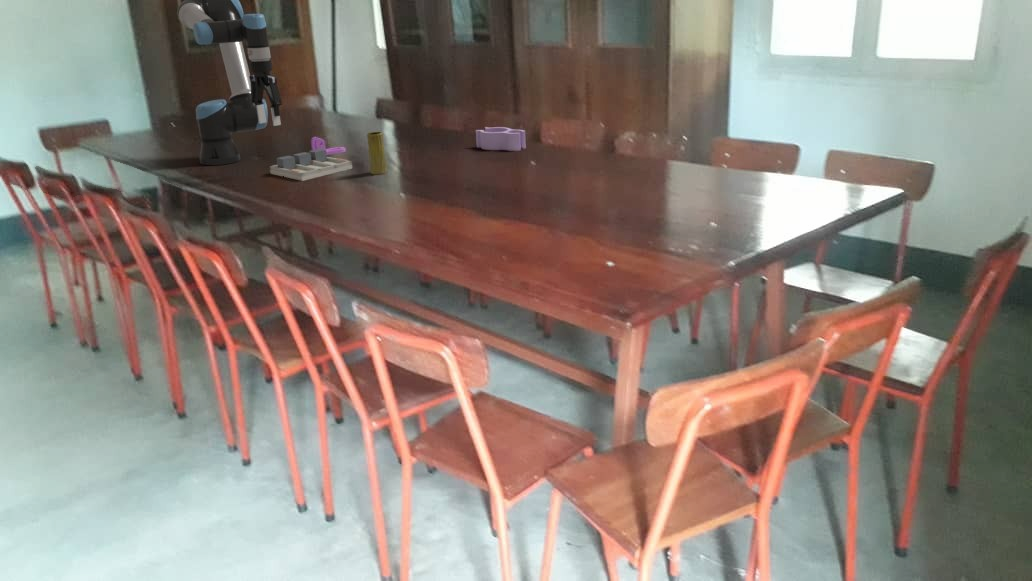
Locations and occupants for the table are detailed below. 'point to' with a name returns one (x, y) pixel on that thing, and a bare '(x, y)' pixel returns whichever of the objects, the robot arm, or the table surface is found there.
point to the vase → (376, 153)
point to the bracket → (320, 144)
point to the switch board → (313, 169)
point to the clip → (500, 139)
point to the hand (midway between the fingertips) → (269, 124)
